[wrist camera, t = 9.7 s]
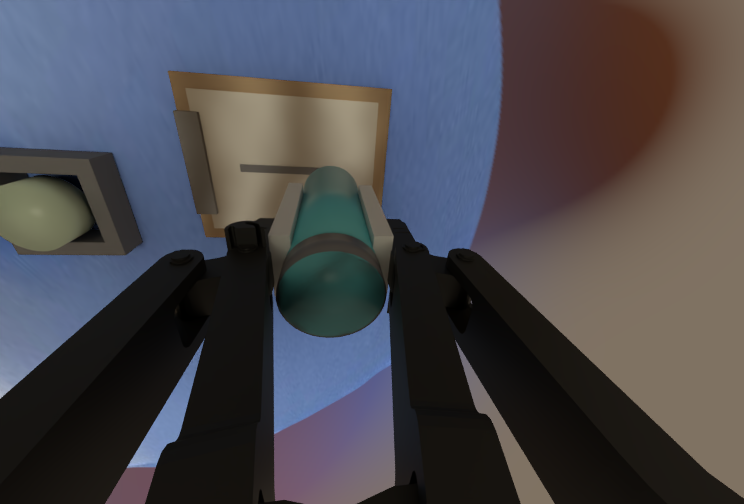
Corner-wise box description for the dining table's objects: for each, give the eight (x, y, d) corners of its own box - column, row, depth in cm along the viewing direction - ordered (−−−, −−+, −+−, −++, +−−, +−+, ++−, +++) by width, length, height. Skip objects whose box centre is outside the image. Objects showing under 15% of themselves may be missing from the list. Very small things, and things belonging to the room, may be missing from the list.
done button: (38, 234, 24) (4, 251, 21) (5, 173, 21) (-37, 184, 19) (105, 235, 25) (80, 251, 22) (81, 176, 22) (49, 187, 20)
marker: (306, 209, 22) (281, 340, 10) (303, 158, 20) (269, 250, 9) (356, 209, 22) (382, 334, 11) (357, 159, 20) (390, 249, 9)
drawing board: (209, 233, 27) (203, 240, 26) (173, 71, 21) (163, 70, 20) (377, 236, 29) (379, 242, 28) (390, 89, 23) (393, 89, 22)
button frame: (44, 240, 26) (18, 254, 24) (-5, 146, 22) (-42, 153, 20) (142, 241, 27) (125, 255, 25) (111, 152, 23) (88, 159, 21)
